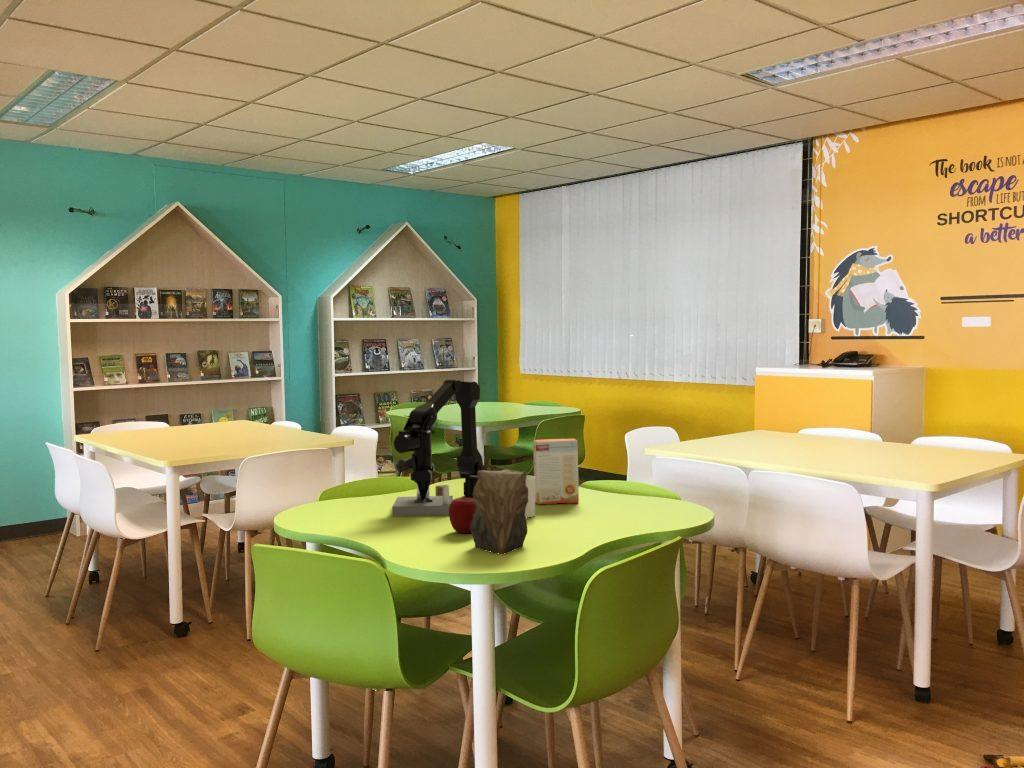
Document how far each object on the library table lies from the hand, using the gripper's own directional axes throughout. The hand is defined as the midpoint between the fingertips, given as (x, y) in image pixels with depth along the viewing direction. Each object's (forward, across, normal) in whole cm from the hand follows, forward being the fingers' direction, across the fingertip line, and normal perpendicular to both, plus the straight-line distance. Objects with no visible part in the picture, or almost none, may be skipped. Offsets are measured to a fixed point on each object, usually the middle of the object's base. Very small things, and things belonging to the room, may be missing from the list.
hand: (423, 498), depth 267 cm
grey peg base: (+4, 0, 0) cm, 4 cm away
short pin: (+4, -15, +5) cm, 16 cm away
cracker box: (+4, -8, +43) cm, 44 cm away
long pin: (+2, 0, 0) cm, 2 cm away
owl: (+4, +50, +23) cm, 55 cm away
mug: (+4, +12, +30) cm, 33 cm away
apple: (+4, +31, +14) cm, 34 cm away
